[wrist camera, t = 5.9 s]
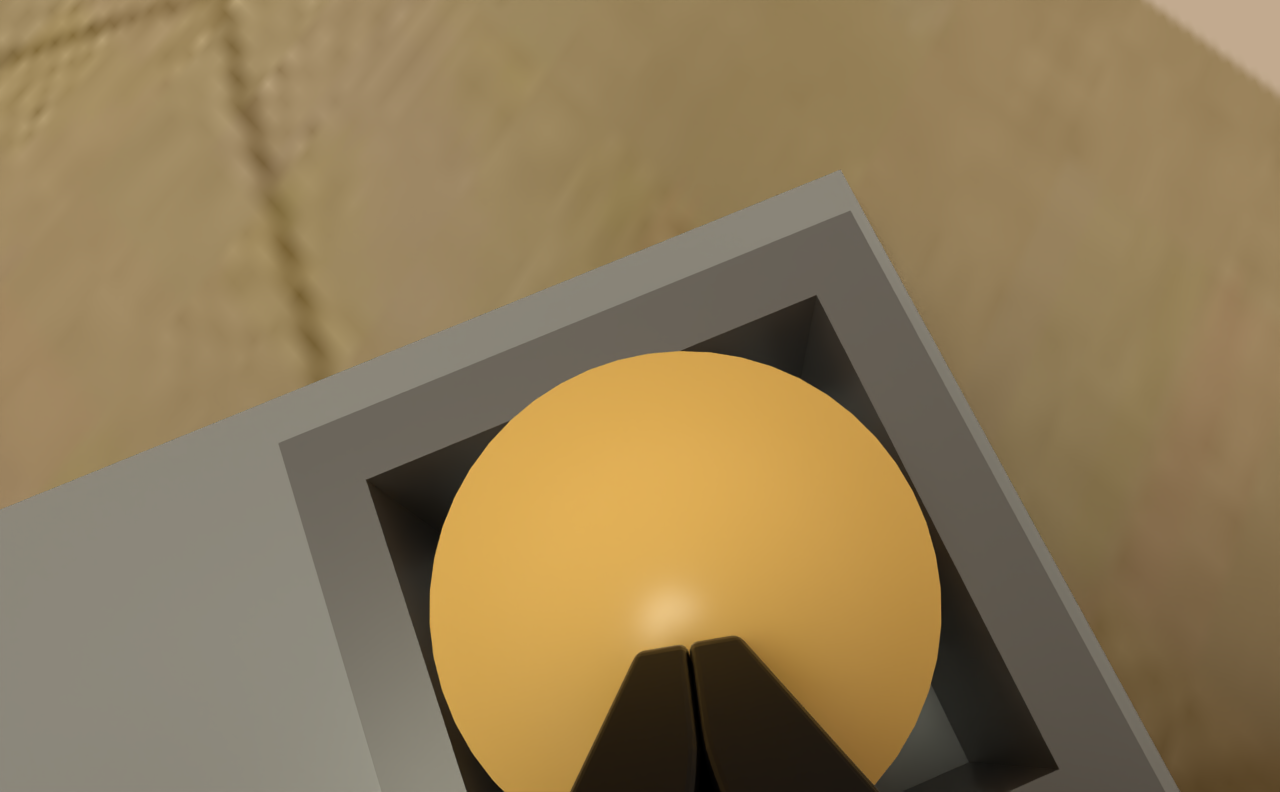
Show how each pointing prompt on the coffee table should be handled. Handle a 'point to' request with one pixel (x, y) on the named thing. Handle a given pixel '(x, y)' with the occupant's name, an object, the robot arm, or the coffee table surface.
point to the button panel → (418, 506)
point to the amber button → (680, 560)
